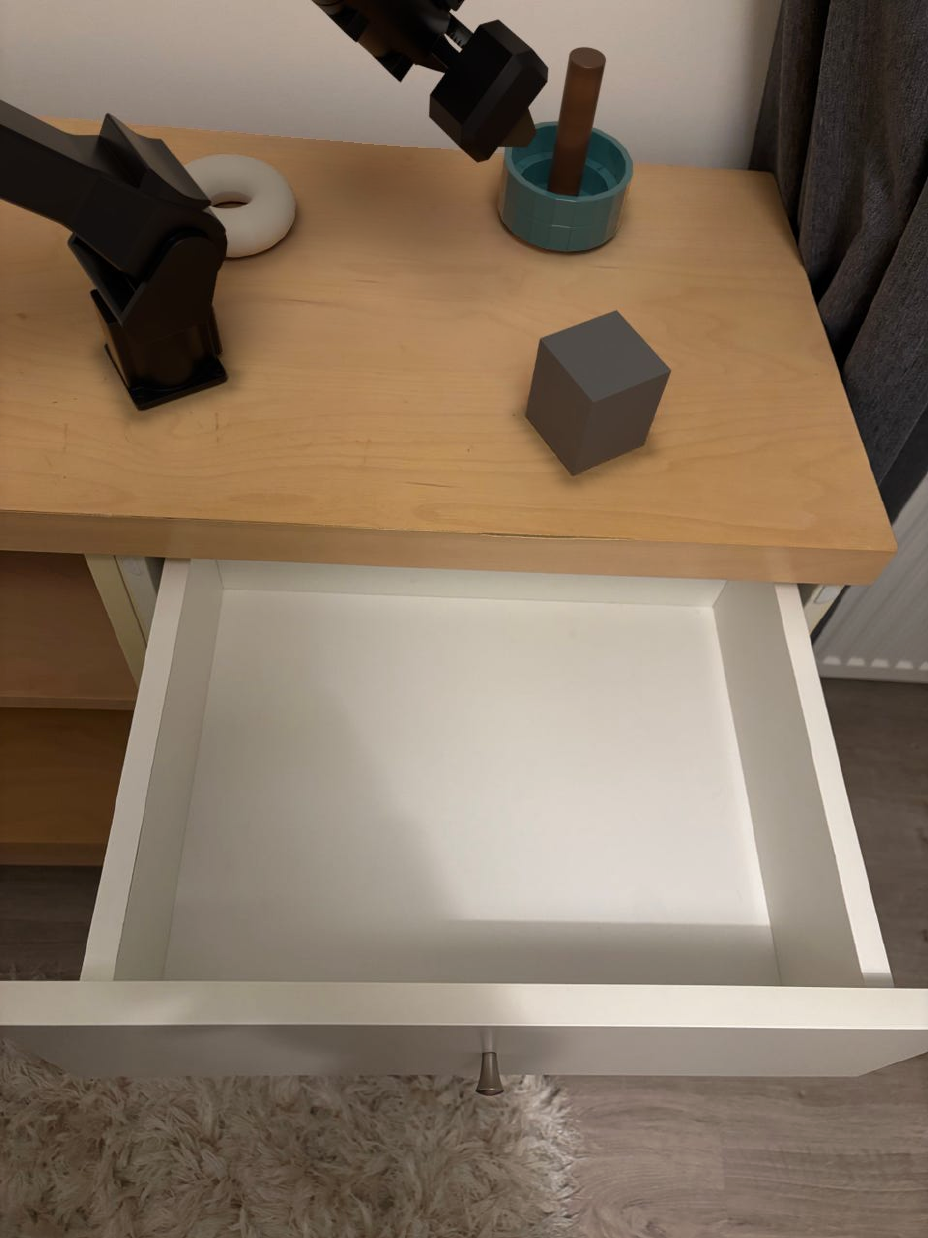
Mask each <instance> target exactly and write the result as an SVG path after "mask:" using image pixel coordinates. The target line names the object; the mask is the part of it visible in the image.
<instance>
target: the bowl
mask: <svg viewBox="0 0 928 1238" xmlns="http://www.w3.org/2000/svg"><path fill="white" fill-rule="evenodd" d="M534 125H535V128H536V131H537V134H536V136H535V138H534V139H533V140H532V141H531V143H530V144H529V145H528V146H527V147H504V150H503V160H502V168H501V177H500V183H499V184H500V185H499V193H498V201H497V210H498V212H499V216H500V219H501V222H502V223H503V224H505V226H506V227H507V228H508V229H509V230H510V232H511V233H512V234H514V235H515V236H517V237H518V238H519V239H521V240H523V241H525V242H527V243H528V244H531V245H534V246H536V247H540V248H543V249H546V250H552V251H560V252H567V253H568V252H578V251H588V250H591V249H593V248H597V247H599V246H602V245H603V244H604V243H606V242H607V241H609V240H610V239H611V238H613V237H614V236H615V235H616V234H617V231H618V230H619V228H620V226H621V223H622V219H623V216H624V212H625V207H626V203H627V201H628V196H629V192H630V188H631V185H632V180H633V176H634V161H633V159H632V157H631V155H630V153H629V151H628V149H627V148H626V147H625V146H624V145H623V144H622V143H621V142H620V141H619V140H618V139H617V138H615V137H614V136H612V135H610V134H608V133H607V132H605V131H603V130H602V129H599V128H596V127H594V126H593V128H592V133H591V138H590V143H589V148H588V152H587V157H586V162H585V167H584V172H583V177H582V182H581V187H580V192H579V197H573V196H566V195H558V194H554V193H552V192H549V191H546V190H547V184H548V178H549V172H550V166H551V161H552V155H553V149H554V143H555V137H556V131H557V125H558V120H554V121H553V120H552V121H541V122H537V123H534Z"/></svg>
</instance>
